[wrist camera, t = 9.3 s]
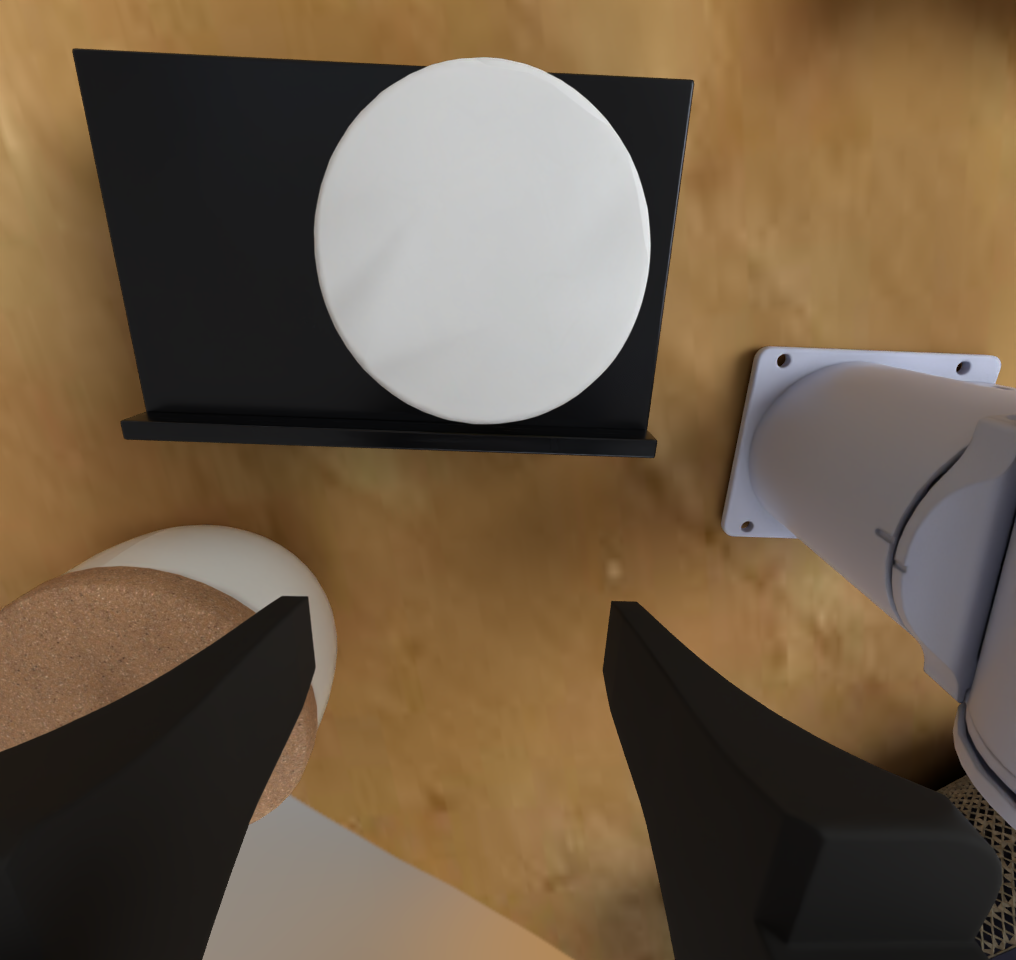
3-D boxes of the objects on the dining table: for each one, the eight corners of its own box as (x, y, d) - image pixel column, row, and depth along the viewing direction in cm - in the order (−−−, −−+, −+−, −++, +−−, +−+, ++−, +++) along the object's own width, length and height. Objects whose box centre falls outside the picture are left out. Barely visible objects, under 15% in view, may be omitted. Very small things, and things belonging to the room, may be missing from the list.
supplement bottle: (608, 337, 16) (751, 407, 7) (442, 393, 16) (364, 527, 7) (559, 140, 14) (661, -133, 5) (373, 210, 15) (154, 81, 5)
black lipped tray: (650, 128, 18) (713, 59, 12) (617, 415, 21) (655, 458, 16) (174, 104, 17) (29, 24, 12) (220, 400, 21) (123, 440, 16)
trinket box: (178, 698, 26) (12, 907, 17) (90, 502, 22) (-177, 642, 14) (389, 674, 26) (328, 876, 17) (335, 470, 22) (221, 592, 13)
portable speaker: (1062, 663, 26) (1383, 879, 16) (1134, 773, 28) (1445, 1013, 19) (654, 893, 31) (718, 1150, 22) (745, 966, 34) (837, 1224, 25)
